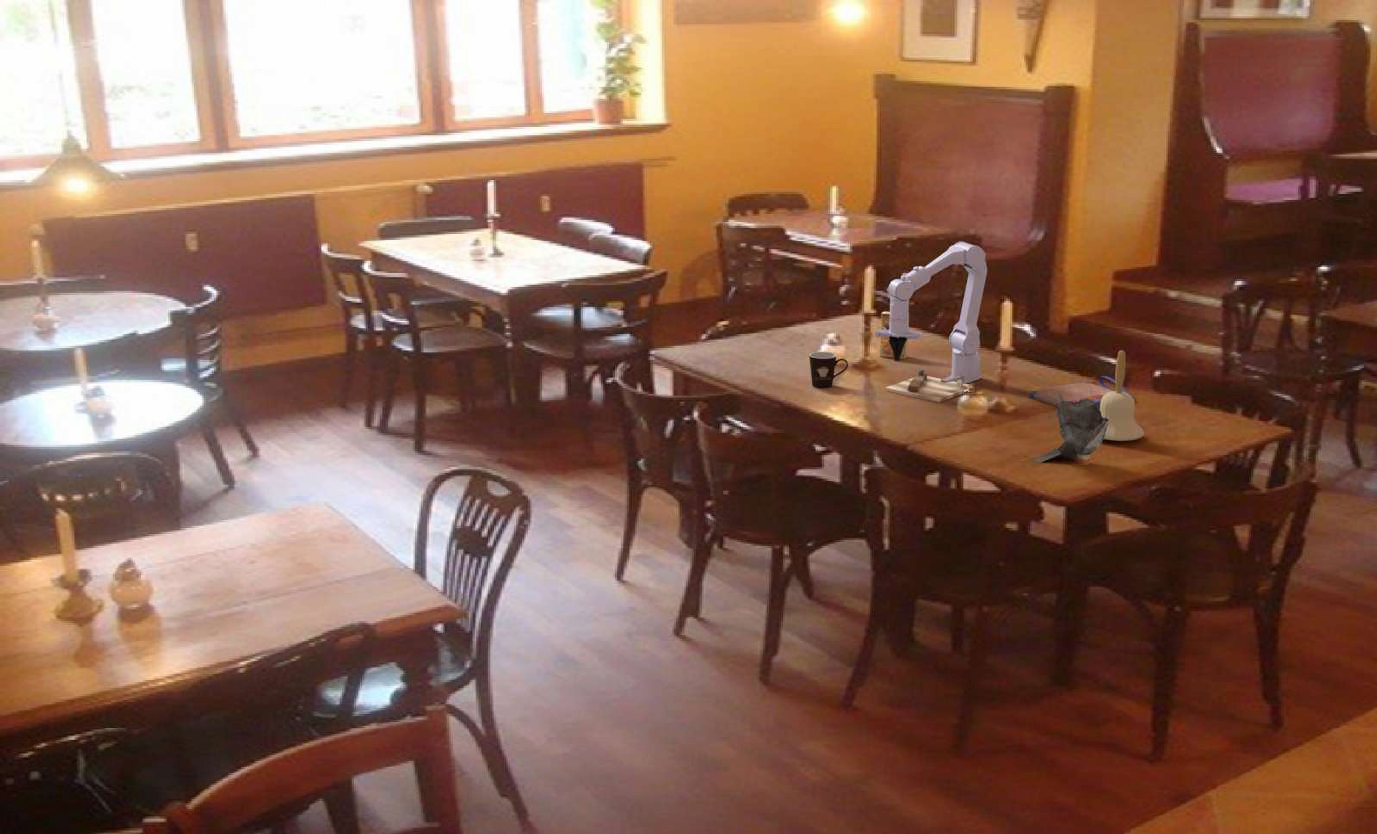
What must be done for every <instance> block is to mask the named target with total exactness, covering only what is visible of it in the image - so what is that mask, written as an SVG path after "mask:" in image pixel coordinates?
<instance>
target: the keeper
mask: <svg viewBox="0 0 1377 834" xmlns="http://www.w3.org/2000/svg"><path fill="white" fill-rule="evenodd" d="M948 377H949V378H947V377H945V378H940V379H941V382H943V383H949V382H956V381H957V386H960V387H963V386H964V384H965V383H964V376H961V375H957V376H953V377H950V376H948Z"/></svg>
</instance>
